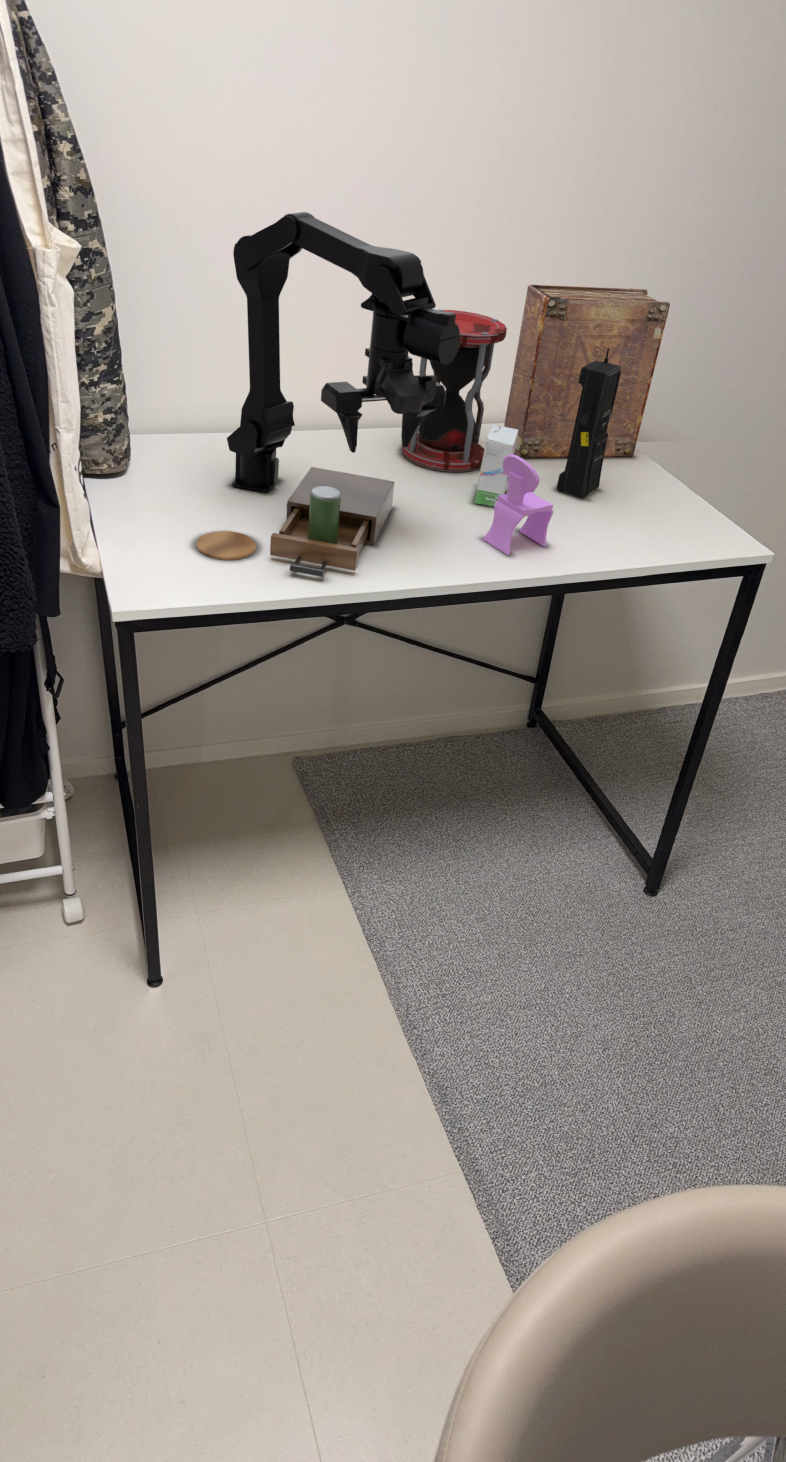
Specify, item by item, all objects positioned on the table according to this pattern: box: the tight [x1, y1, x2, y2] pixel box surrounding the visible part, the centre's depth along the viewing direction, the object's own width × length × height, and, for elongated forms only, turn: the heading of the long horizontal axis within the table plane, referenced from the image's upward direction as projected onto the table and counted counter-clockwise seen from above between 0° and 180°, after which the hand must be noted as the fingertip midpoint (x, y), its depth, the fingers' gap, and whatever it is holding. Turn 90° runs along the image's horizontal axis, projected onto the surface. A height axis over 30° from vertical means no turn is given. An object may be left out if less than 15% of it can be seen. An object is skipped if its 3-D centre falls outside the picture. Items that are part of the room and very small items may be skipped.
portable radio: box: [556, 348, 621, 500], centre depth 186 cm, size 8×6×25 cm
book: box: [503, 284, 671, 459], centre depth 202 cm, size 25×9×30 cm, turn 107°
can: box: [307, 486, 341, 544], centre depth 158 cm, size 5×5×8 cm
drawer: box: [269, 507, 372, 578], centre depth 160 cm, size 18×13×3 cm
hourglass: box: [401, 309, 508, 473], centre depth 193 cm, size 16×16×25 cm
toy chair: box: [483, 454, 554, 556], centre depth 168 cm, size 8×9×15 cm
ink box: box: [473, 424, 519, 508], centre depth 183 cm, size 9×5×12 cm, turn 168°
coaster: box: [196, 530, 257, 561], centre depth 160 cm, size 9×9×1 cm
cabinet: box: [285, 466, 395, 546], centre depth 171 cm, size 15×14×5 cm
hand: (378, 449), depth 162 cm, fingers open, 9 cm apart
